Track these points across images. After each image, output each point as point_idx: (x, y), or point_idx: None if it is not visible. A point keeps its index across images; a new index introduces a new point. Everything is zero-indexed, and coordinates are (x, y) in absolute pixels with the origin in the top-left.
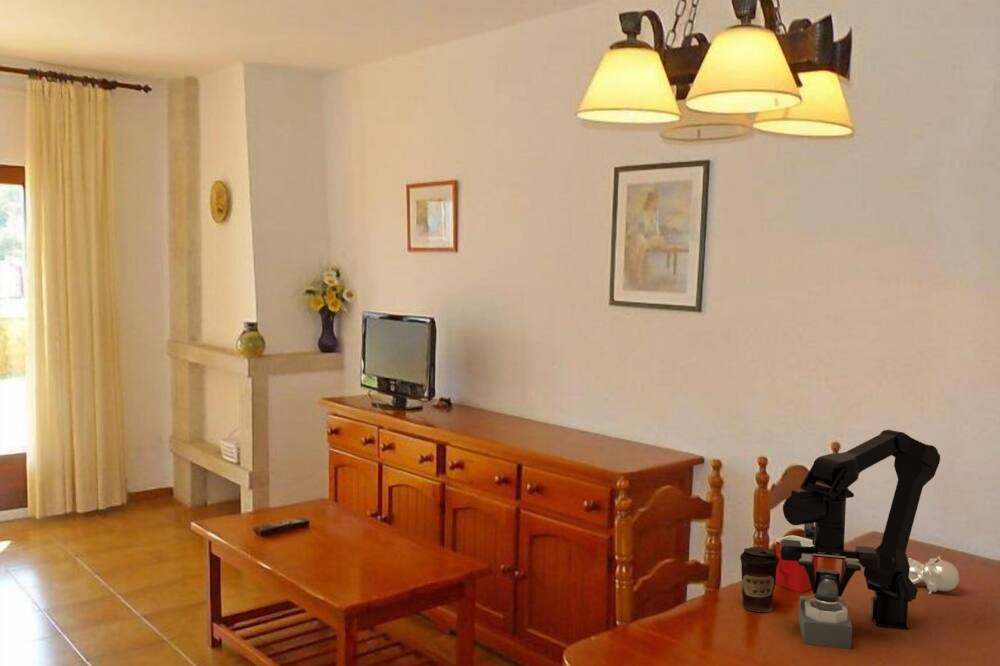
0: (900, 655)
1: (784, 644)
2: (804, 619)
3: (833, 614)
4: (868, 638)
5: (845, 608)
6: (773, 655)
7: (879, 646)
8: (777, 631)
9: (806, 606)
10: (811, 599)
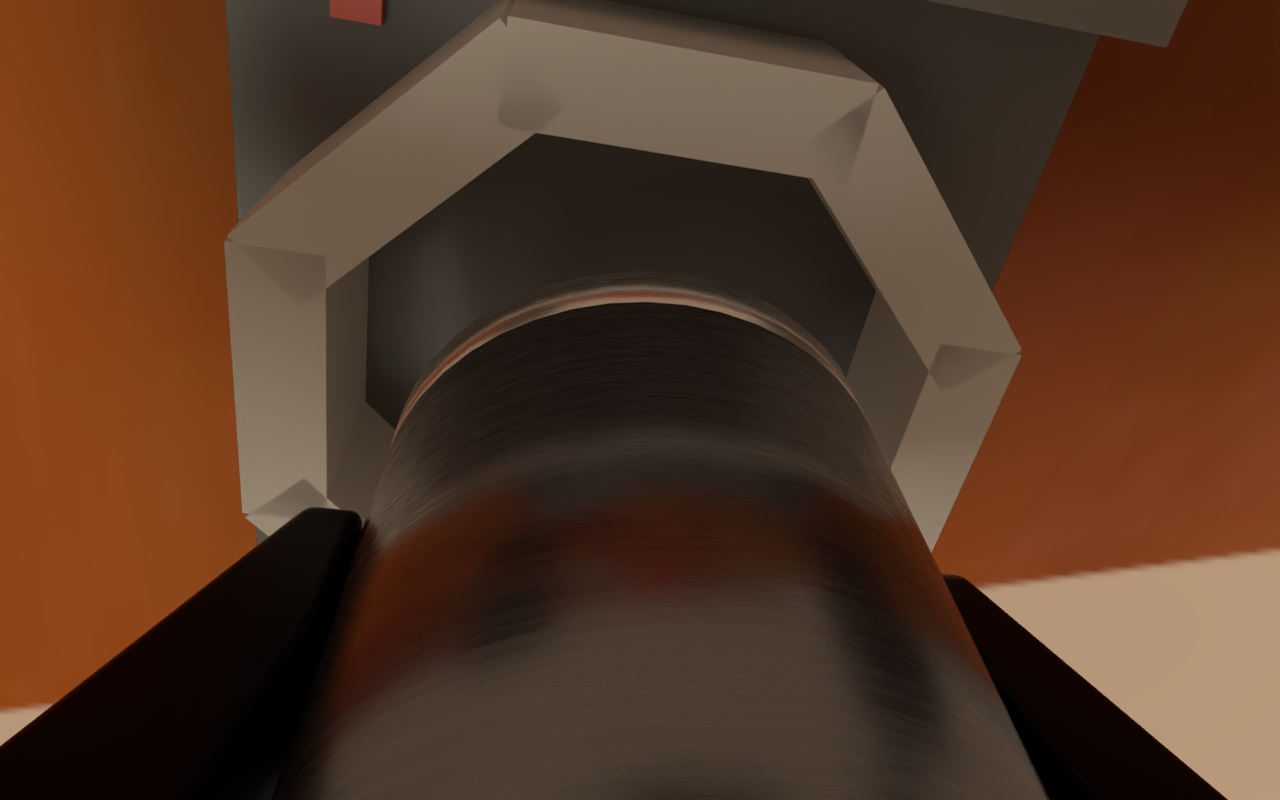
0: (1179, 533)
1: (137, 470)
2: (264, 539)
3: None
4: (1126, 190)
5: (930, 507)
6: (55, 676)
7: (1112, 382)
8: (21, 126)
9: (245, 517)
10: (384, 122)
